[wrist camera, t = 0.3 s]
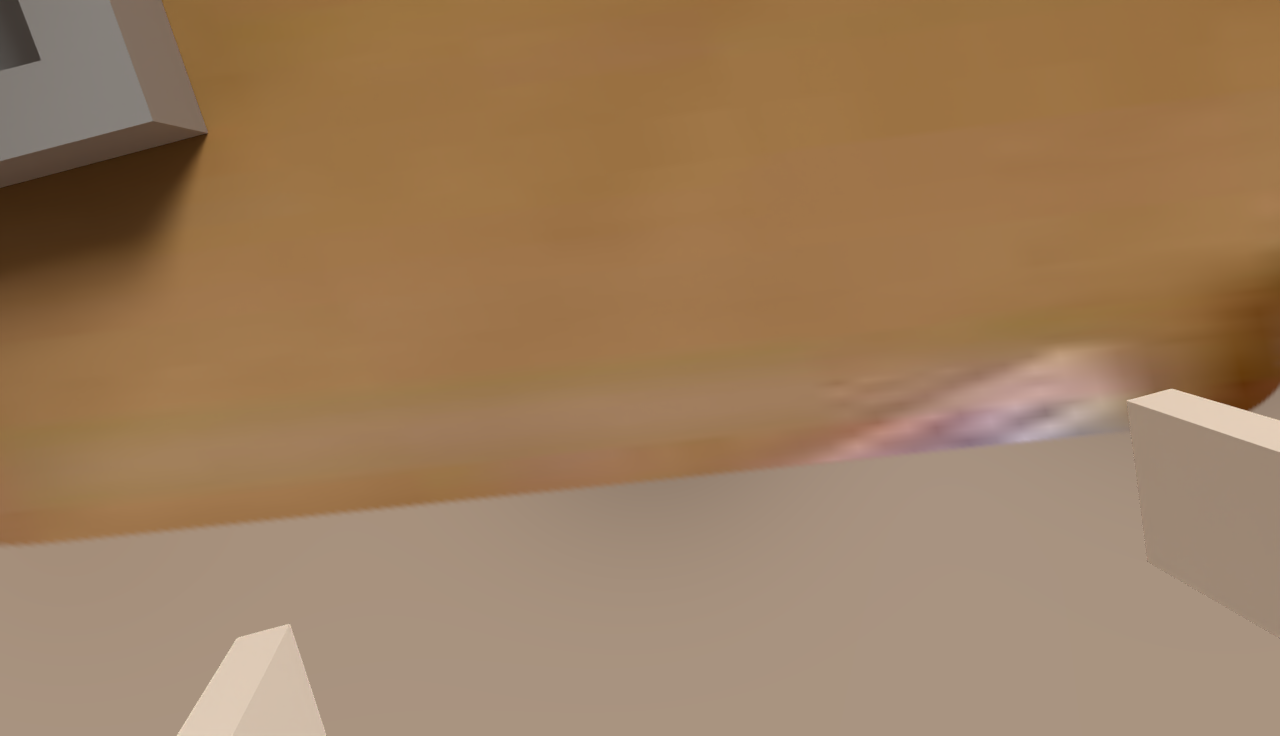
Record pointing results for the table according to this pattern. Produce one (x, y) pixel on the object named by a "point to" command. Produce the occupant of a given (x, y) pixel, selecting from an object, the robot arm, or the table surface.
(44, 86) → the holder
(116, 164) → the table surface
